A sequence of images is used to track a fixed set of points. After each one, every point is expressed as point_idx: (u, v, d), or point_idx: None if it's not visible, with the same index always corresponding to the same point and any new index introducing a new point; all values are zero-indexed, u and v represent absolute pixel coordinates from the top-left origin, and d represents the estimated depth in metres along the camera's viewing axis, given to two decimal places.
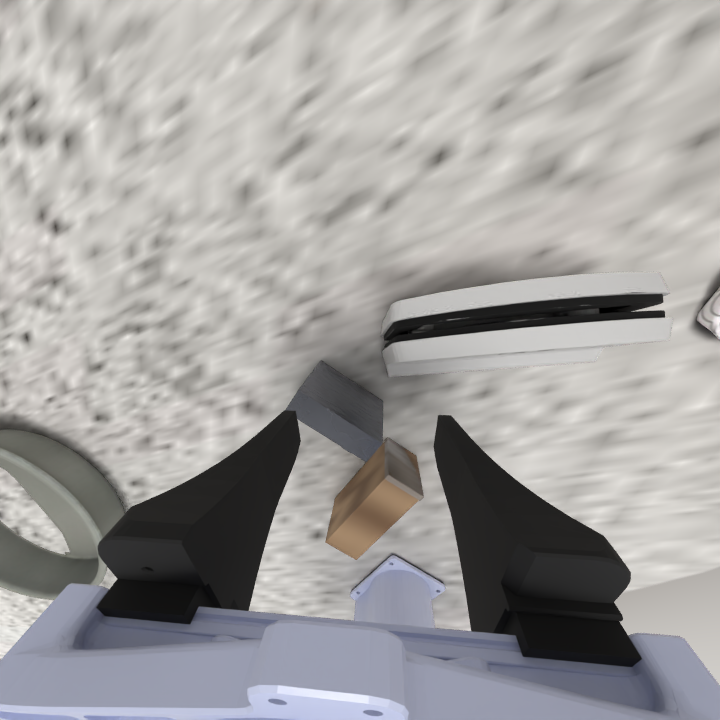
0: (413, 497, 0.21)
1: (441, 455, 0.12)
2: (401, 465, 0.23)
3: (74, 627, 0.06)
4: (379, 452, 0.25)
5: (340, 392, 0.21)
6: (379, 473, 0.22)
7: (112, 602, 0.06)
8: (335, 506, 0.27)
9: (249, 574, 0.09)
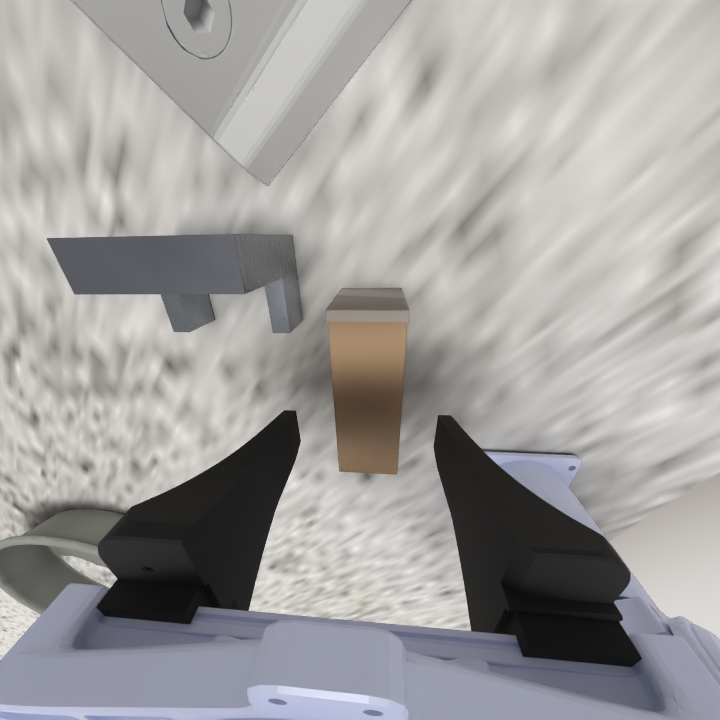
0: (394, 323, 0.11)
1: (441, 455, 0.12)
2: (361, 299, 0.13)
3: (74, 627, 0.06)
4: None
5: None
6: None
7: (112, 602, 0.06)
8: None
9: (249, 574, 0.09)
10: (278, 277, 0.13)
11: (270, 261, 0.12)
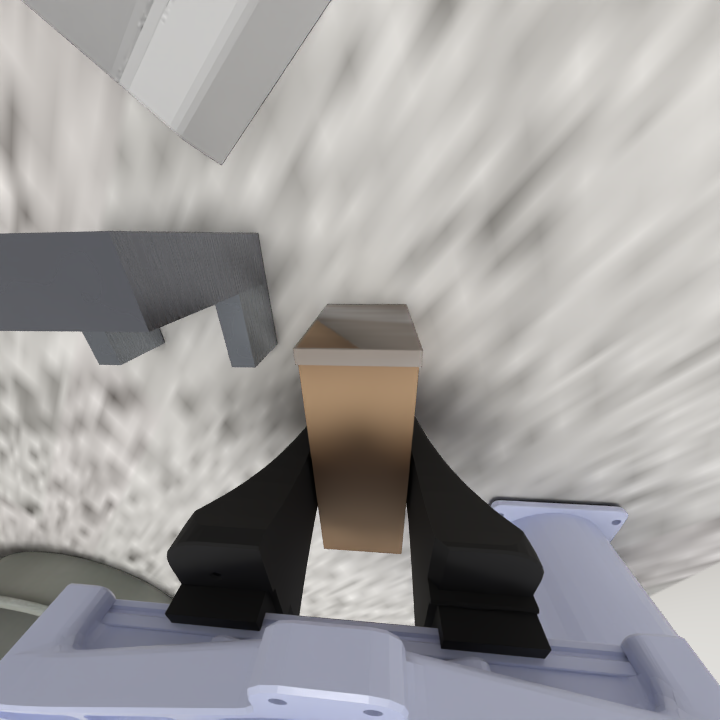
0: (399, 368, 0.07)
1: None
2: (351, 325, 0.09)
3: (74, 627, 0.06)
4: None
5: None
6: None
7: (180, 608, 0.06)
8: None
9: (300, 578, 0.09)
10: (230, 294, 0.09)
11: (212, 273, 0.08)
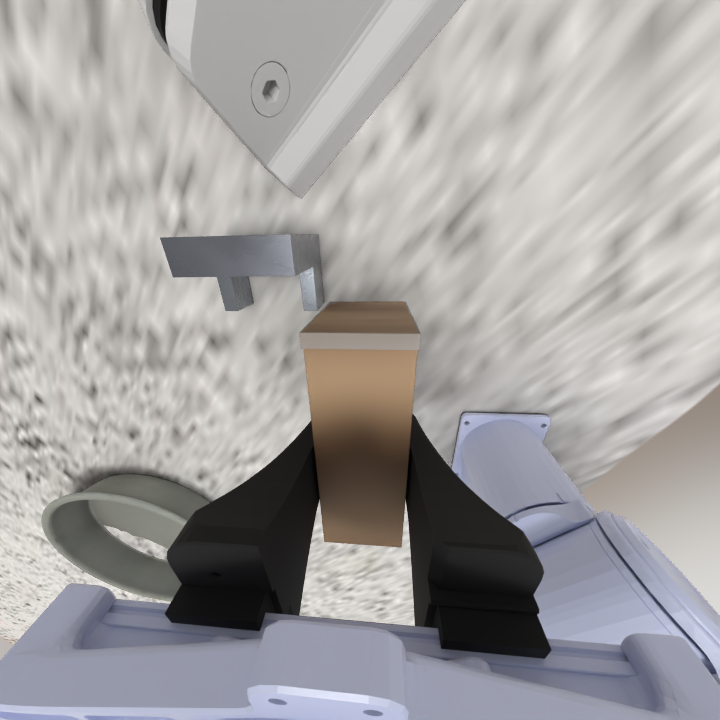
0: (399, 352, 0.08)
1: None
2: (353, 316, 0.09)
3: (74, 627, 0.06)
4: None
5: None
6: None
7: (180, 608, 0.06)
8: None
9: (300, 578, 0.09)
10: (311, 266, 0.17)
11: (307, 254, 0.16)
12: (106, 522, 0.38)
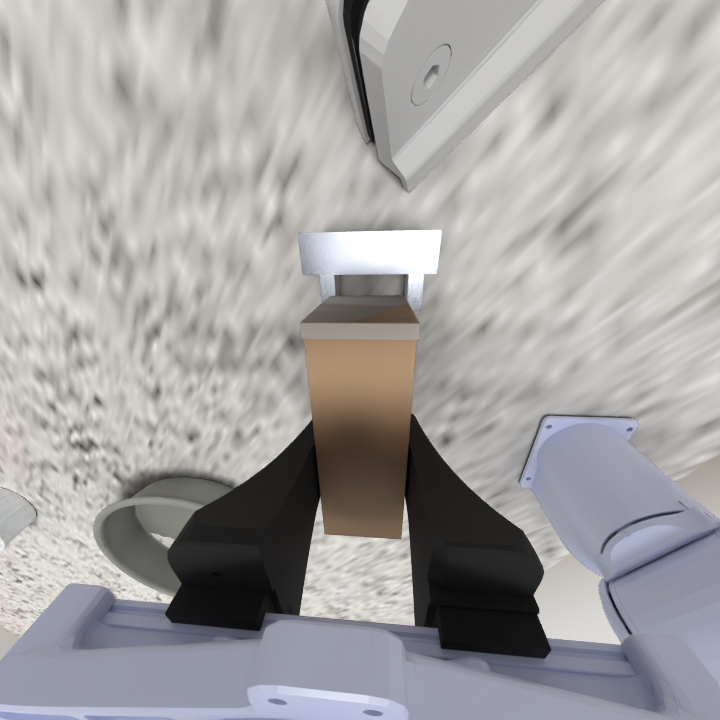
0: (398, 342, 0.08)
1: None
2: (353, 308, 0.10)
3: (74, 627, 0.06)
4: None
5: None
6: None
7: (180, 608, 0.06)
8: None
9: (300, 578, 0.09)
10: None
11: None
12: (150, 526, 0.37)
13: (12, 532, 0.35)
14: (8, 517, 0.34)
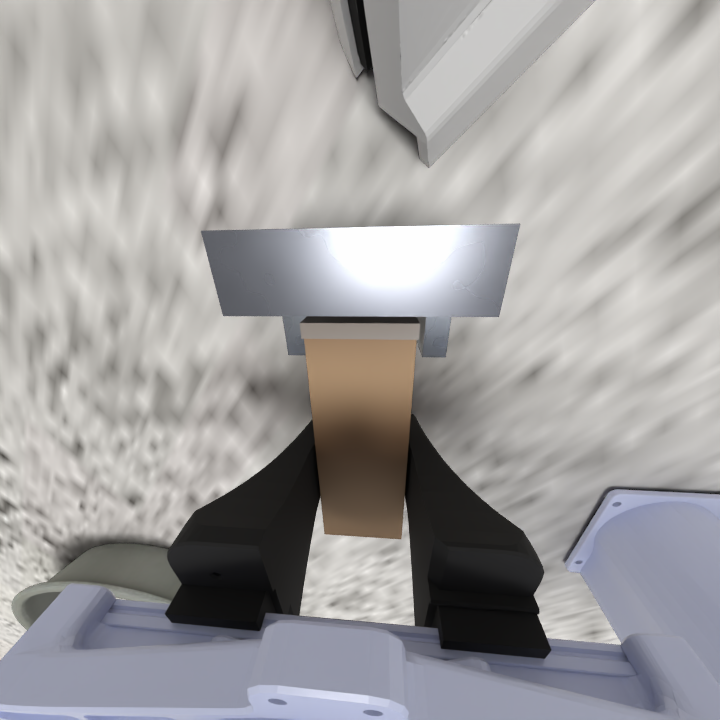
0: (398, 342, 0.08)
1: None
2: None
3: (74, 627, 0.06)
4: None
5: None
6: None
7: (180, 608, 0.06)
8: None
9: (300, 578, 0.09)
10: None
11: None
12: None
13: None
14: None
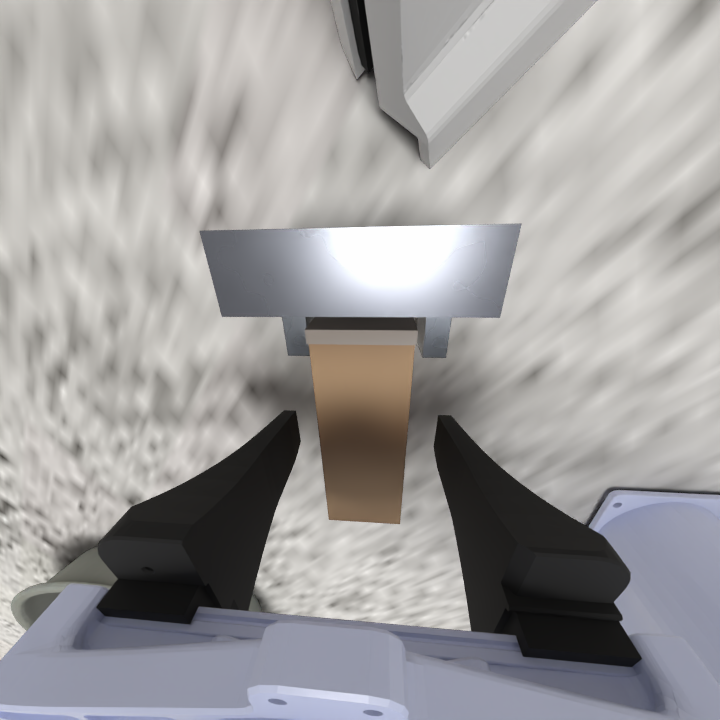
0: (398, 347, 0.08)
1: (441, 455, 0.12)
2: None
3: (74, 627, 0.06)
4: None
5: None
6: None
7: (112, 602, 0.06)
8: None
9: (249, 574, 0.09)
10: None
11: None
12: None
13: None
14: None
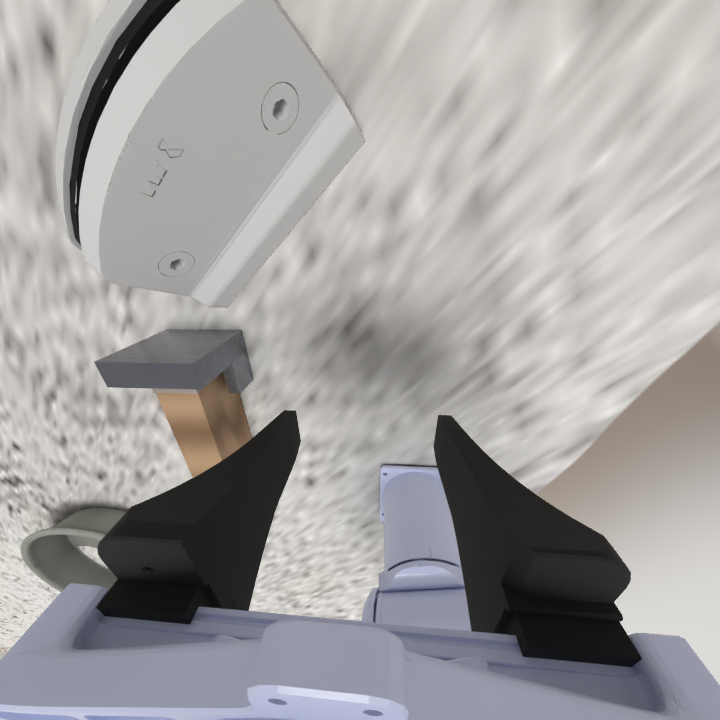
0: (191, 394, 0.20)
1: (441, 455, 0.12)
2: None
3: (74, 627, 0.06)
4: None
5: (167, 344, 0.20)
6: None
7: (112, 602, 0.06)
8: None
9: (249, 574, 0.09)
10: (228, 364, 0.21)
11: (221, 360, 0.20)
12: None
13: None
14: None
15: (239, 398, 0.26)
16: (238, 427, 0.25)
